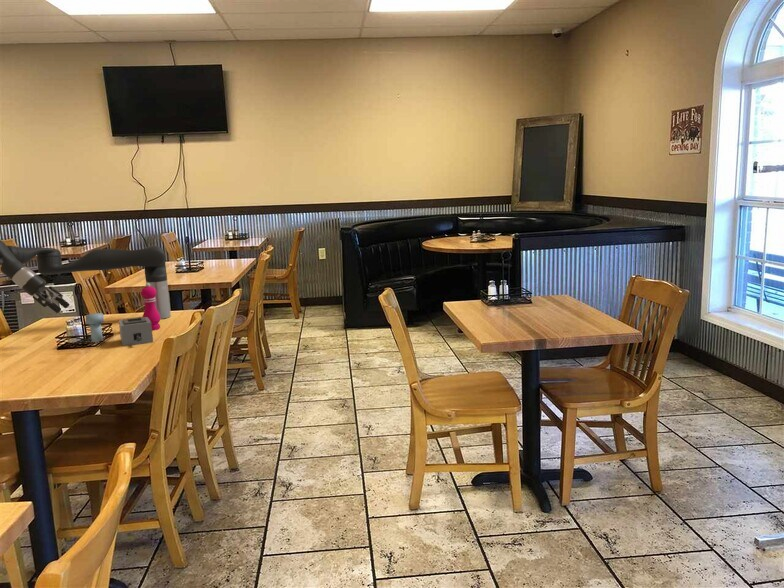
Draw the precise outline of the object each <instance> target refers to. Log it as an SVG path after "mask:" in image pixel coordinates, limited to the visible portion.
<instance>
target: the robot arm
mask: <svg viewBox="0 0 784 588" xmlns="http://www.w3.org/2000/svg"><path fill="white" fill-rule="evenodd" d="M35 257H36V259H37V260H36V262H37V271H38V273H39V274H40V275H46V276H49V275H59V274H67V273H68V274H69V273H75V272H87V271H88V272H90V271H107V270H110V271H111V270H117V269H126V268H131V267H143V269H144V275H145V276H144V278H145V285H146V284H147V283H149V284H150V287H153V288H155V290H156V295H155V298H156V299H155V300H156V301H155V307H156V309H157V311H158V313H159V315H160V320H162V319H168V318H171V316H172V315H171V304H170V294H169V285H168V275H167V274H168V273H167V267H166V253H165V252H164V249H162V247H160V246H159V245H154V244H153V245H152V244H151V245H149V246H147V247H146V248H141V249H122V248H121V249H119V248H99V249H93V250H91V251H88V253H86V254H84V255H83V256H82V257H80V258H78V259H77V260H75V261H73V262H71V263H68V264H64V265H63V262H62V261H63V260H62V253H61V251H60V250H59V249H57V248H54V247H21V246H15V245H8V244H6V243H5V242H4V241H2V240H1V239H0V272H1V273H3V275H5V276H6V277H8V279H10V280H11V281H12V282H13V283H14V284H15V285H16V286H18V287H19V288H20V289H21V290H23V291H24V292H25V293H26V294H28V295H29V296H30V297H32V298H33V299H34V300H35V302H37V303H38V304H39V305H41V306H42V307H44V308H50V309H51V311H54V312H55V313H56V314H58V313H60V312H61V310H62V308H61V307H63V308H64V309H68V307H69V306H70V303H69V302H68V301H66V300H65V299H64V298H63V297H64V296H63V294H62V293H60V292H59V291H58V290H57V289H55V287H53V286H51V285H50V286H49V287H47V286H46V284H47V281H46V280H45V279H43V278H42V277H41V276H39V274H37V273H36V272H34V271H33V270H32V269H30V268H29V267H27V266H26V265H24V264H26V263H28V262H29V261H31V260H32V259H33V258H35ZM55 302H57V304H59V305H60V306H61V307H60V306H58V305H57V304H56V303H55Z"/></svg>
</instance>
